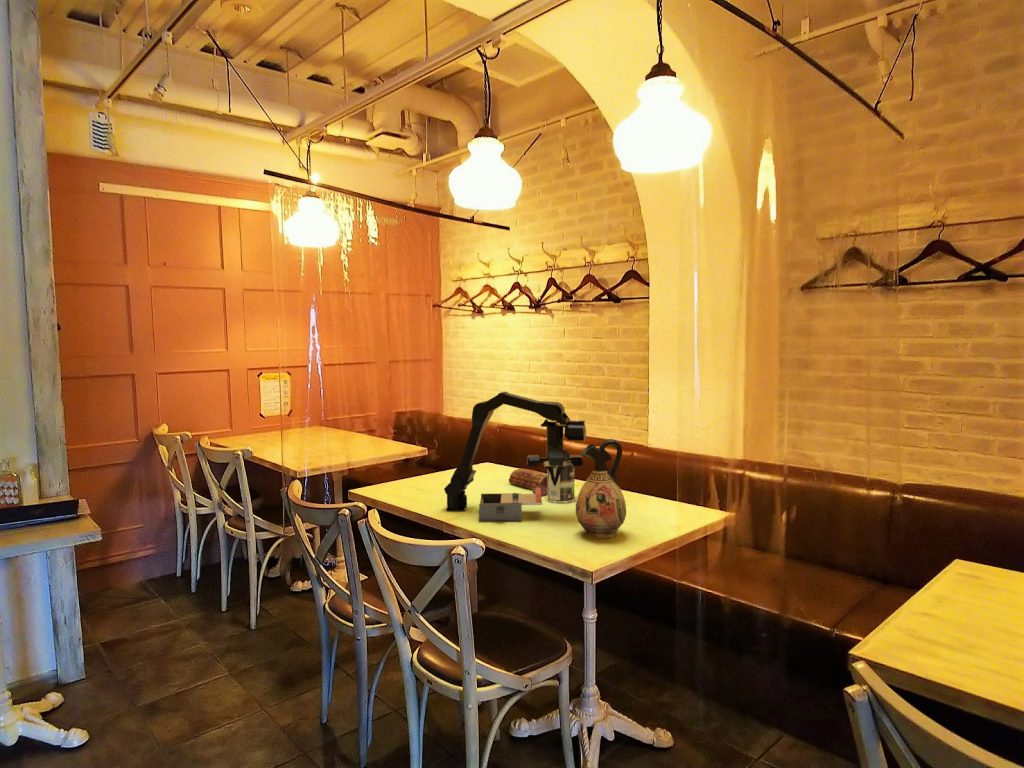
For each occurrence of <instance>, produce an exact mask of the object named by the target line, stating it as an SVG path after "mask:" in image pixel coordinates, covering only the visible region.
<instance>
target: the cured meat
mask: <svg viewBox="0 0 1024 768" xmlns="http://www.w3.org/2000/svg"><path fill="white" fill-rule="evenodd" d="M508 483H509V484H512V485H516V486H519V487H521V488H524V489H531V491H532V492H531V493H532V494H536V487H540V489H541V497H542V496H548V473H545V472H541V471H538V470H534V469H528V468H527V469H526V468H517V469H515V470H513V471H512V472H511V473H510V474H509V478H508Z"/></svg>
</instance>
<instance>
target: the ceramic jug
mask: <svg viewBox="0 0 1024 768" xmlns="http://www.w3.org/2000/svg"><path fill="white" fill-rule="evenodd" d="M606 447H614V448H615V449H616V455H615V459H614V461H613V464H612V465H611V468H610V469H609V468H608V466H607V462H608V461H612V460H613V458H612V455H611V454H610V453H609V452H608V451H607V450H606ZM580 455H581V456H582V457H586V458H589V459H591V460H592V461H594V463H595V465H594V469H592V472H591V473H590V474H589V475H588V477H587V478H586V479H585V482H584V484H583V485H582V486H581V488H580V491H579V493H578V495H577V498H576V499H577V500H576V504H575V515H576V520H577V522H578V523H579V524H580V525H581V527H582V529H583V530H584V531H585V532H584V535H586V536H587V537H589V538H592V539H601V540H605V539H610V538H611V539H612V538H614V537H615V536H616V535H617V534H618V533H617V532H618V530H620V527H621V526H622V525H623V524H624V522H625V520H626V517H627V504H626V500H625V496H624V494H623V493H622V490H621V487H620V485H619V481H618V477H617V471H618V468H619V466H620V462H621V459H622V457H623V447H622V444H621V442H619V441H618V440H616V439H613V438H609V439H606V440H604V441H602V442H601V443H600V445H599V447H598V446H597V445H595V444H594V443H593V442H592V443H590V444H588V445H587V446H586V447H584V449H583V450H582V452H581V453H580Z"/></svg>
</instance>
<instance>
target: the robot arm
mask: <svg viewBox="0 0 1024 768" xmlns="http://www.w3.org/2000/svg"><path fill="white" fill-rule="evenodd" d="M503 405H507V406H510V407H513V408H518V409H522V410H525V411H528V412H532V413H535V414H537V415H539V416H540V417H543V418H544V419H545V420H544V421H543V422H542V423H541V424H540V425H539V426H540V427H541V428H543V427H545V428H546V457H540V455H539V454H528V455H527V457H526V459H527V460H526V465H527V466H528V467H537V466H539V465H540V464H543V466H544V469H546V470H547V469H548V470H549V473H550V475H551V478H552V481H553V485H554V486H556V484H557V481H558V478H559V475H560V473H561V471H562V470H563V468H566V463H572V464H573V465H574V467H583V466H584V458H583V455H581V454H570V450H567V449H566V450H564V438H566V439H567V440H568V441H572V442H574V441H575V442H576V441H577V442H586V438H587V429H586V421H585V420H571V419H570V417H569V416H568V414H567V413H566V410H565V407H564V405H563V404H562V403H561V402H557V401H545V400H544V401H541V400H536V399H533V398H528V397H524V396H521V395H518V394H513V393H509V392H507V391H501V392H499V393H498V394H497V395H495V396H493V397H492V398H490V399H487V400H483V401H481V402H478V403H476V404H474V405H473V408H472V411H471V413H472V414H471V428H470V432H469V434H468V438H467V441H466V443H465V446H464V450H463V453H462V455H461V460H460V462H459V464H458V466H457V467H456V468H455V470H454V471H453V474H452V476H451V478H450V482H449V483H448V484H447V485H446V486H445V487H444V488H443V489H444V492H445V494H446V511H447V512H465V511H466V509H467V507H468V495H467V494H466V490H467V487H468V486H469V485H470V484H471V483H472V482H474V480H475V479H474V478H475V475H476V473H477V470H475V469H474V467H473V465H474V462H475V461H474V460H475V458H476V456H477V451H478V448H479V446H480V443H481V438H482V436H483V433H484V430H485V428H486V426H487V425H488V423H489V421H490V419H492V416H493V414H494V411H496V410H497V409H499V408H500V407H501V406H503ZM554 465H556V473H555V478H554V470H553V466H554Z"/></svg>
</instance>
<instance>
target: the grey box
mask: <svg viewBox="0 0 1024 768" xmlns="http://www.w3.org/2000/svg"><path fill="white" fill-rule="evenodd" d="M513 493H514V492H512V493H503V492H502V493H481V494H480V502H479V503H478V519H479V520H478V522H479V523H521V522H523V520H522V518H523V517H522V516H523V515H522V513H523V512H522V506H523V505H522V503H501V494H513ZM517 493H518V492H517ZM518 494H522V493H518Z"/></svg>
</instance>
